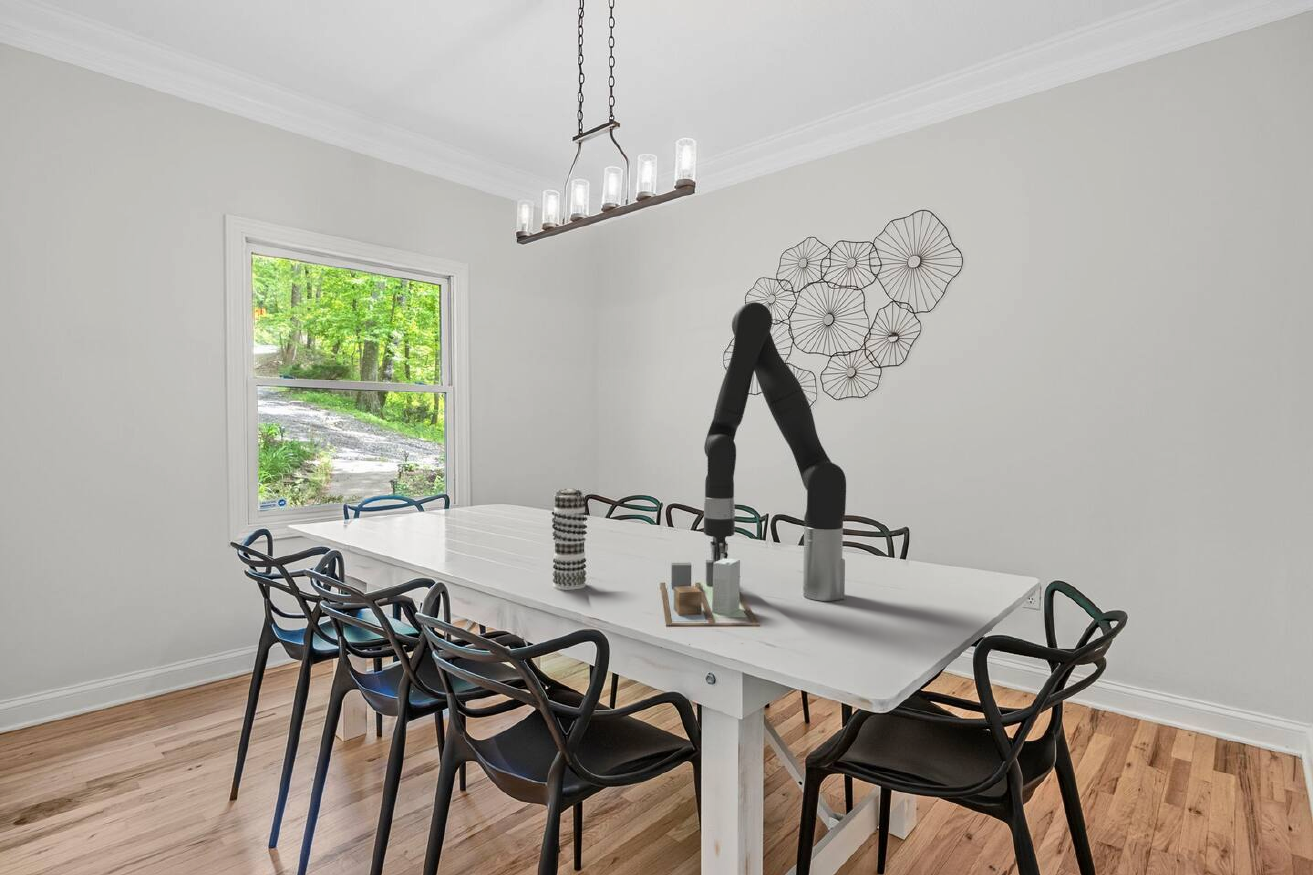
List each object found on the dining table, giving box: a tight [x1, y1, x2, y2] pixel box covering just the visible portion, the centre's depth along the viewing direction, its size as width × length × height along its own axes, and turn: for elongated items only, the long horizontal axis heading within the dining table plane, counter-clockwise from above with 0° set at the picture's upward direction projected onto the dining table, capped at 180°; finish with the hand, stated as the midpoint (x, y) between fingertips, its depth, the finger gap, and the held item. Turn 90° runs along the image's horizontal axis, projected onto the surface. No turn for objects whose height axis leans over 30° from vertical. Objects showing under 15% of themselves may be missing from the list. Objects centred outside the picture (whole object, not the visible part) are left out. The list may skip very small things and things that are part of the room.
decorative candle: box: [551, 488, 589, 591], centre depth 176 cm, size 9×9×25 cm
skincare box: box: [711, 558, 741, 615], centre depth 150 cm, size 6×4×12 cm
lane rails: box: [659, 582, 761, 628], centre depth 156 cm, size 19×35×2 cm, turn 2°
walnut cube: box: [674, 585, 703, 616], centre depth 149 cm, size 5×5×5 cm
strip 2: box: [701, 559, 747, 618], centre depth 160 cm, size 7×30×7 cm, turn 2°
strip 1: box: [666, 562, 707, 623], centre depth 157 cm, size 7×30×7 cm, turn 2°
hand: (718, 585), depth 167 cm, fingers closed
